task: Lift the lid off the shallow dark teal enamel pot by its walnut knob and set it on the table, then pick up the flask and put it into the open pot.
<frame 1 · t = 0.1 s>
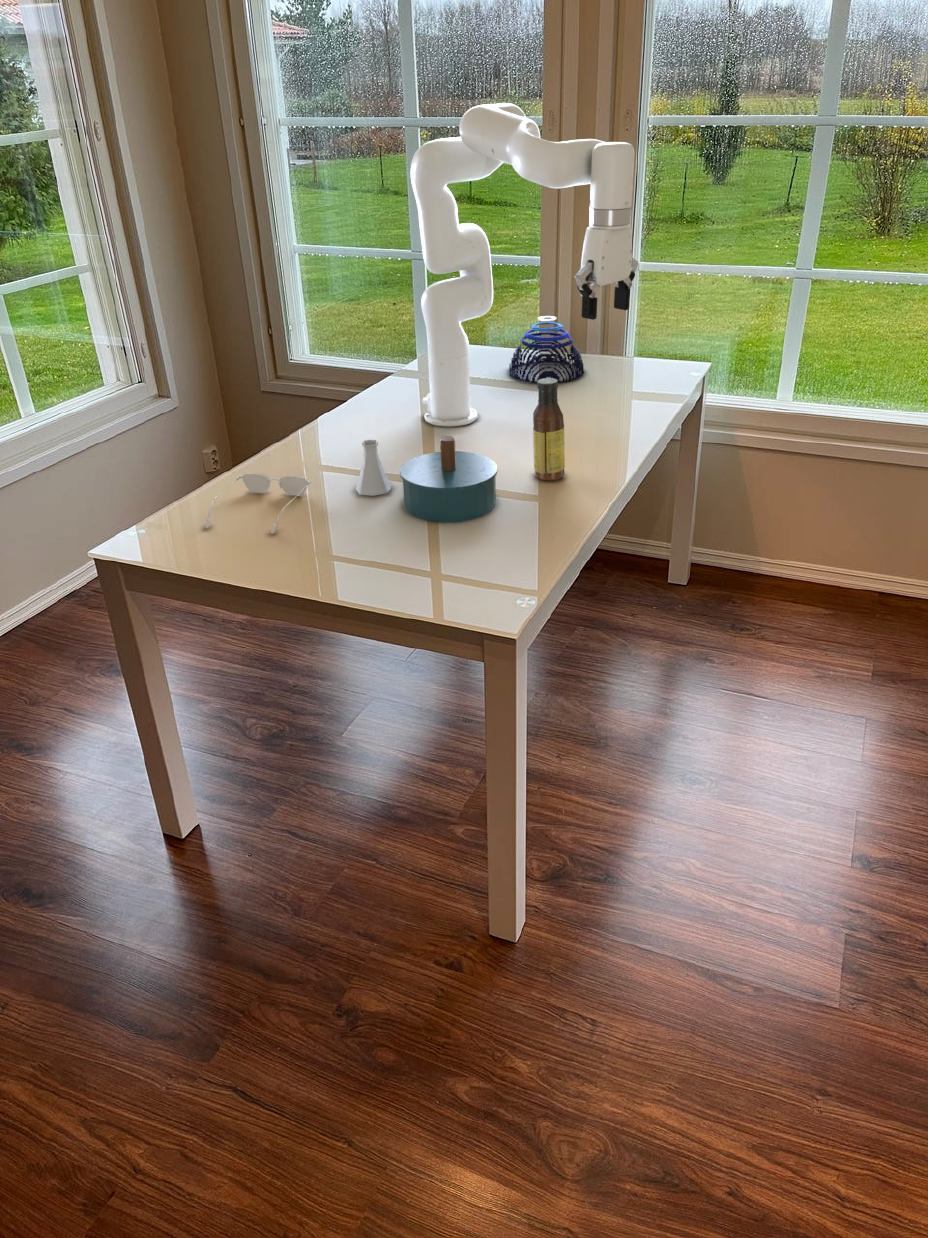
hand: (605, 313, 182), 31 cm above the table, tool pointing down, fingers open, 9 cm apart
sauce bottle: (548, 476, 194), on the table
decorative bowl: (546, 373, 257), on the table
lid: (448, 471, 181), point 6 cm above the table, touching pot
pot: (449, 502, 184), on the table
eyeglasses: (259, 512, 183), on the table
flask: (373, 490, 191), on the table
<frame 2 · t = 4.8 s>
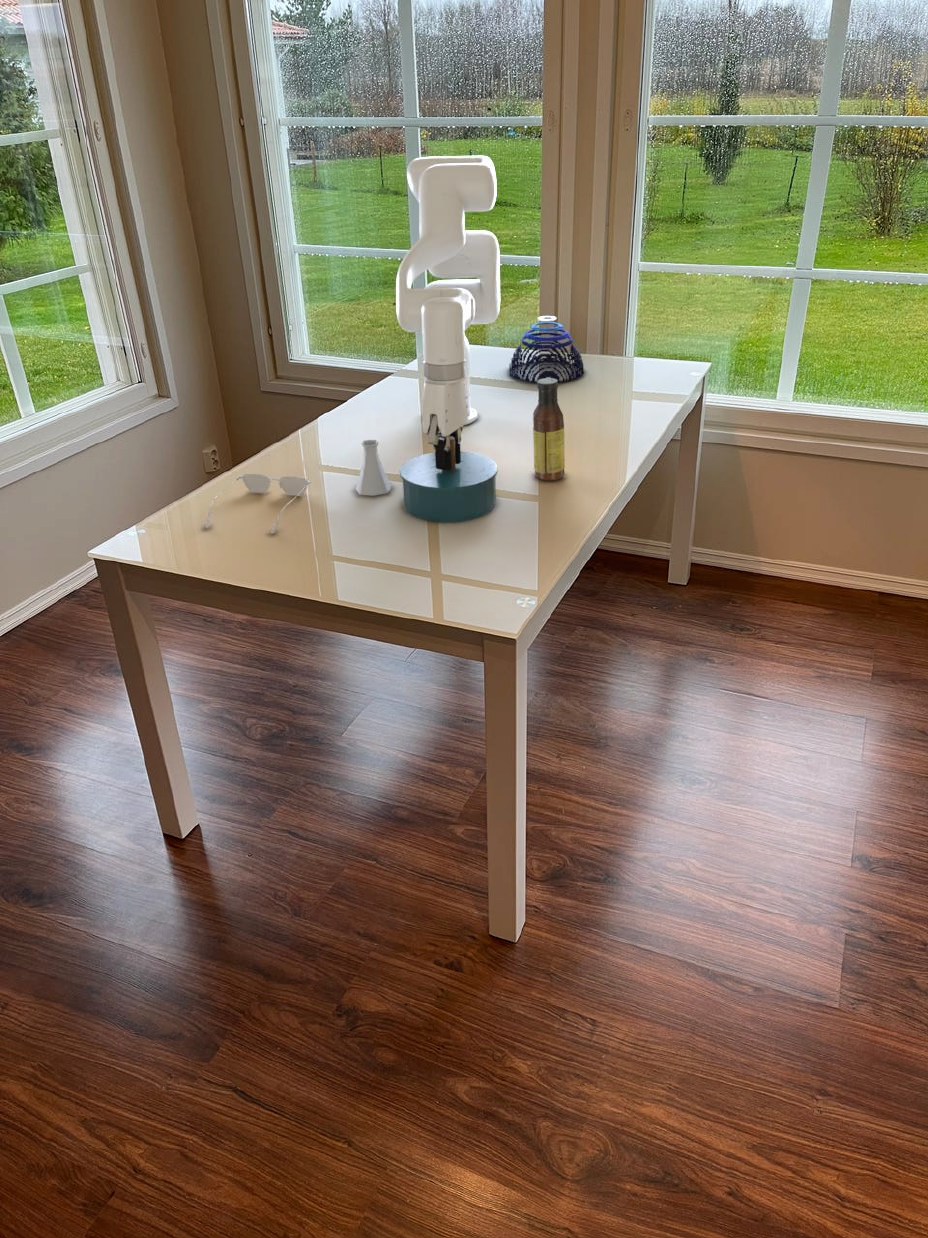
hand: (448, 465, 180), 8 cm above the table, tool pointing down, fingers closed on lid, 2 cm apart
lid: (448, 471, 181), point 6 cm above the table, touching gripper, pot
everything else where it was.
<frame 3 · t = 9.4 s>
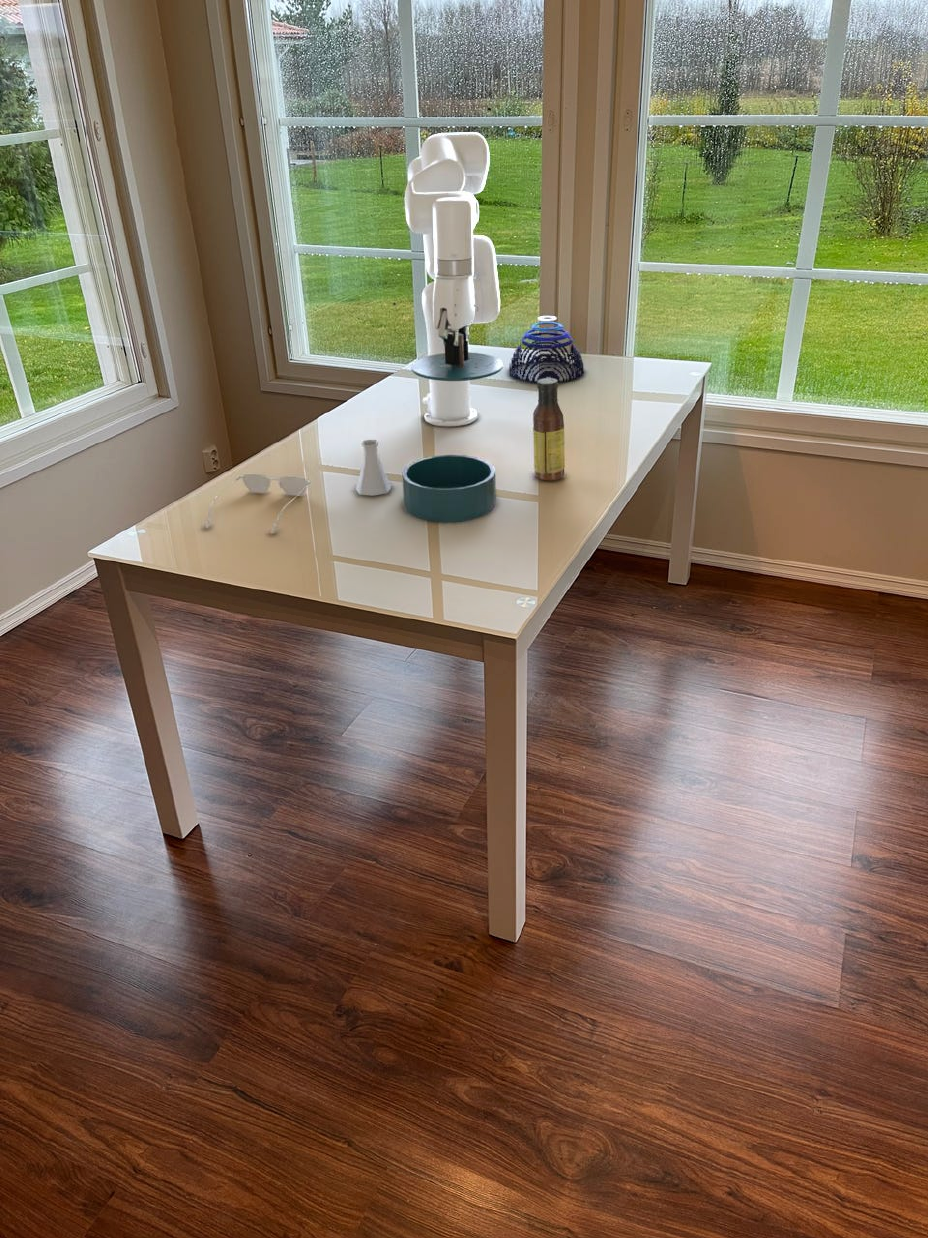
hand: (456, 361, 192), 21 cm above the table, tool pointing down, fingers closed on lid, 2 cm apart
lid: (457, 367, 193), point 20 cm above the table, touching gripper
everything else where it was.
when the fingers open (2 cm above the table, at t = 13.8 s): lid stays where it is, point 1 cm above the table.
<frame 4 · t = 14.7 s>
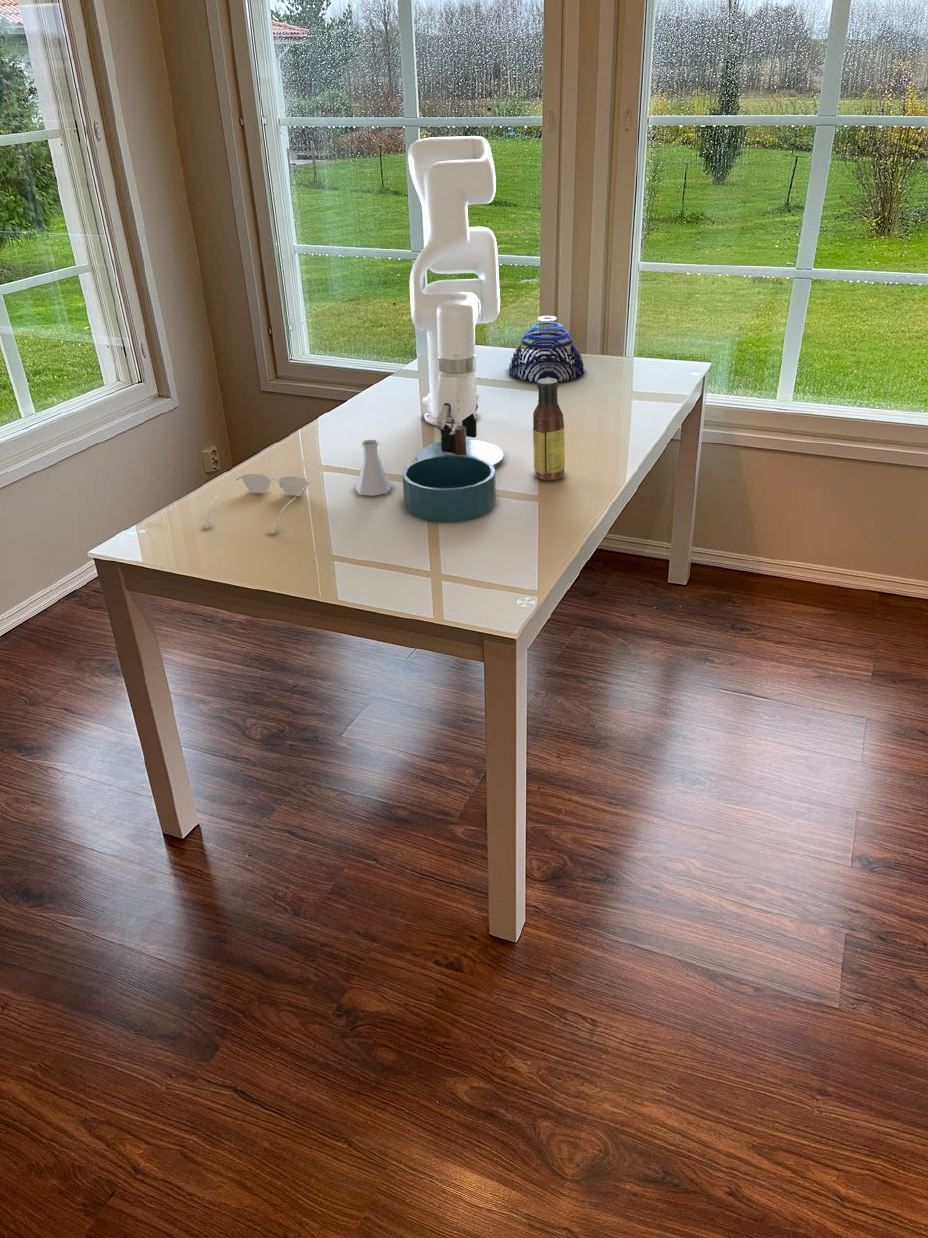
hand: (459, 444, 202), 3 cm above the table, tool pointing down, fingers open, 9 cm apart
lid: (460, 457, 203), point 1 cm above the table
everything else where it was.
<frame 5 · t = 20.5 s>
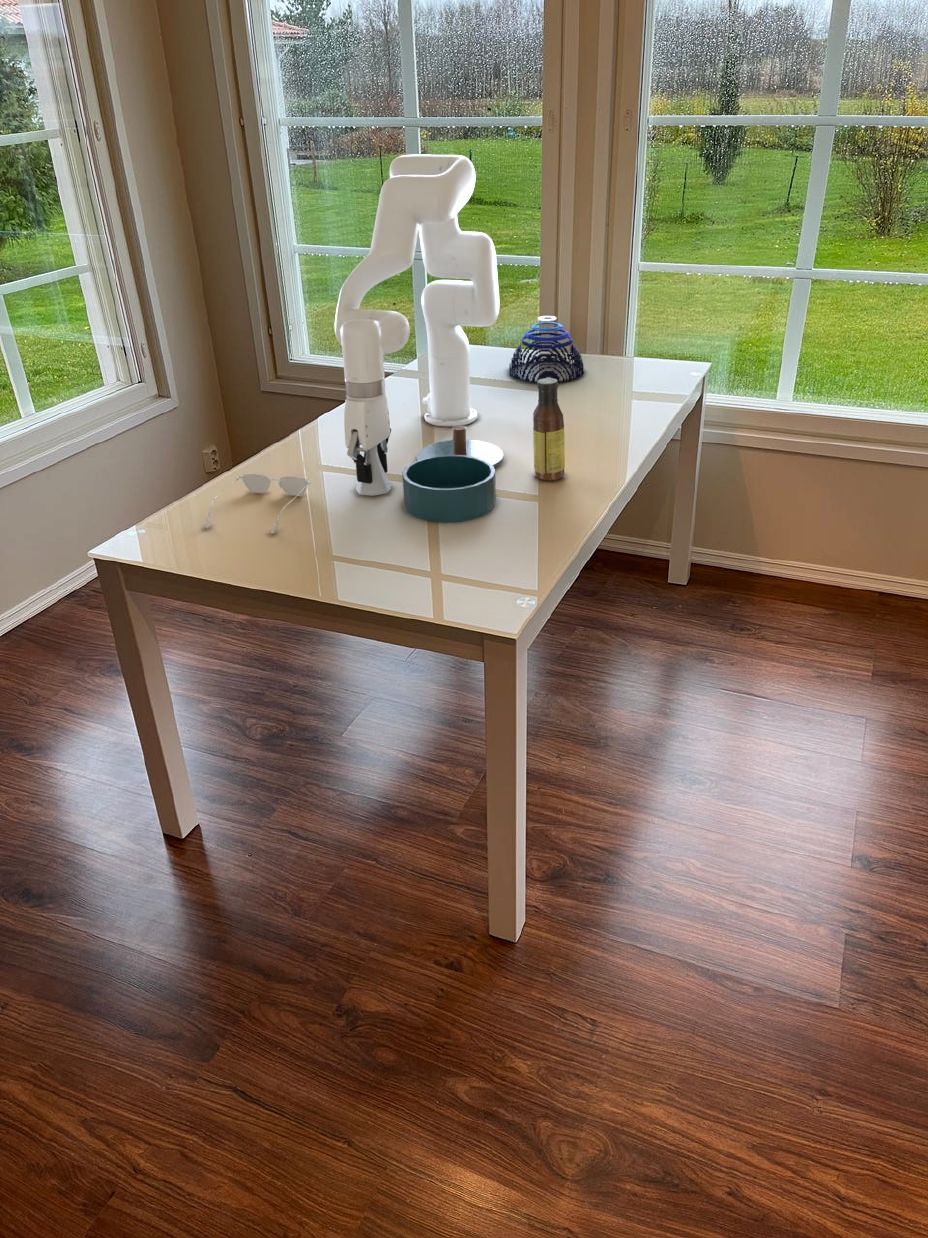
hand: (372, 476, 189), 3 cm above the table, tool pointing down, fingers closed on flask, 5 cm apart
flask: (373, 490, 190), on the table, touching gripper
everything else where it was.
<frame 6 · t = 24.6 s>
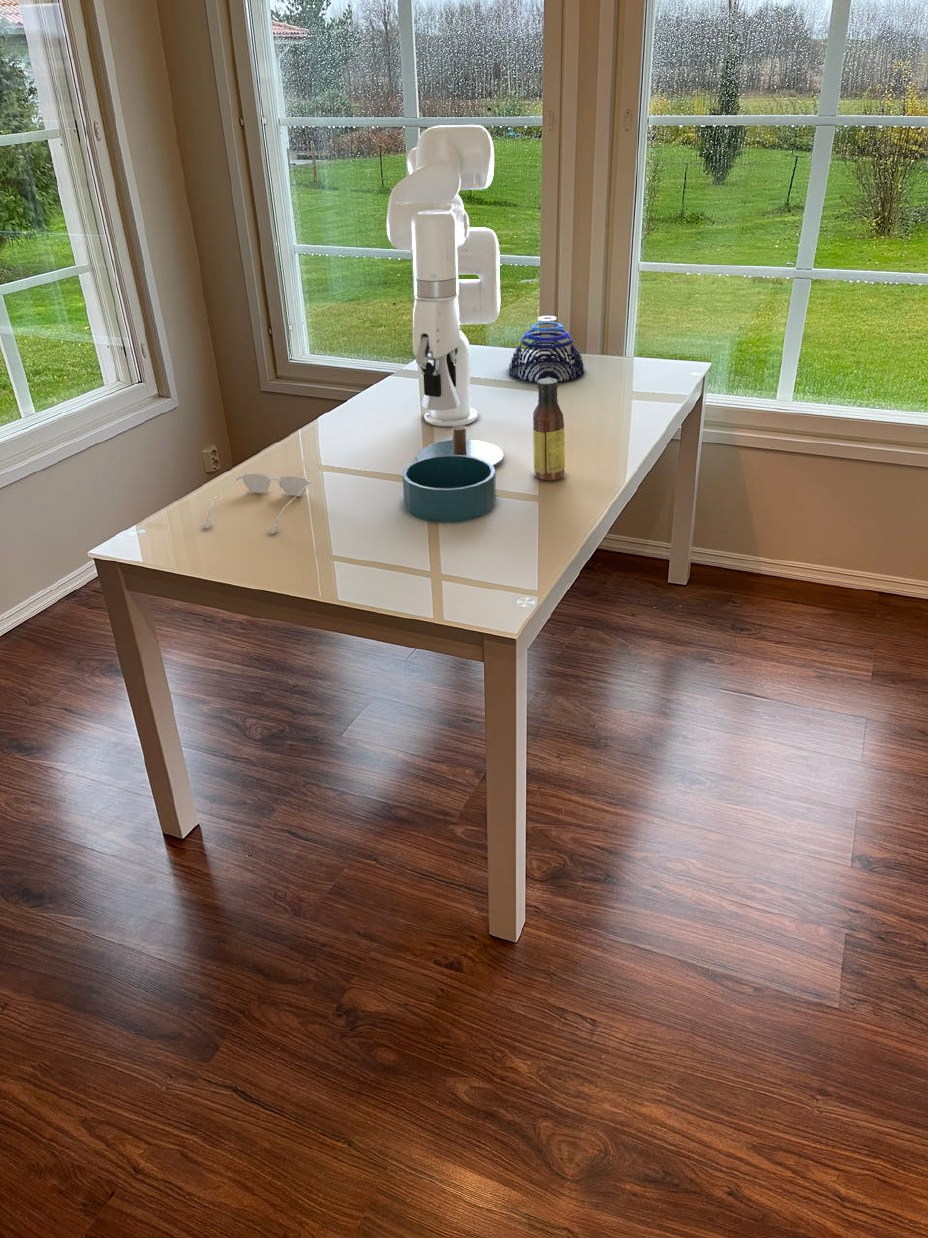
hand: (440, 390, 173), 22 cm above the table, tool pointing down, fingers closed on flask, 5 cm apart
flask: (441, 406, 174), point 19 cm above the table, touching gripper
everything else where it was.
when the fingers open (3 cm above the table, at t = 29.0 s): flask stays where it is, resting on pot.
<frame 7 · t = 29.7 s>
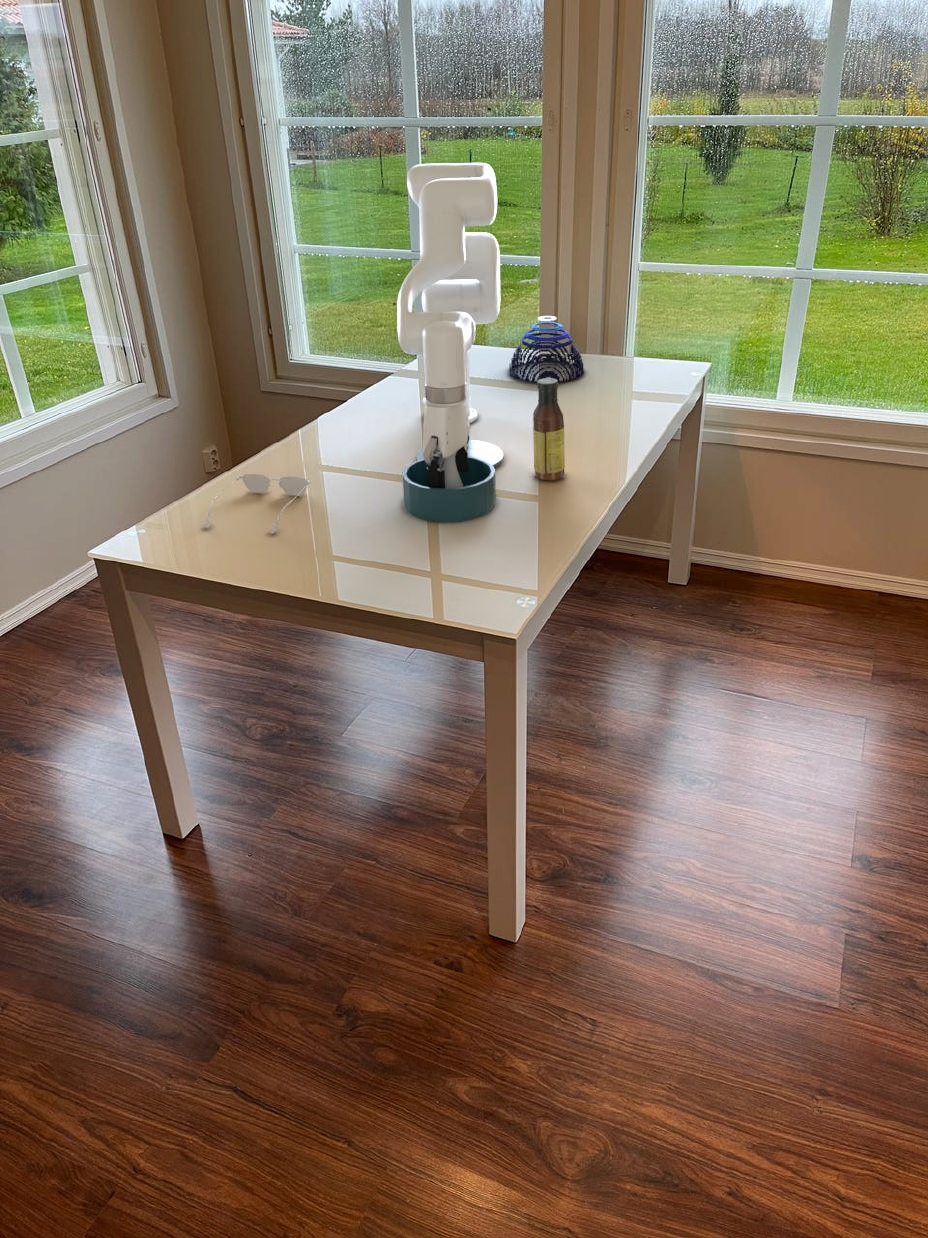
hand: (448, 479, 181), 5 cm above the table, tool pointing down, fingers open, 9 cm apart
flask: (449, 501, 184), resting on pot
everything else where it was.
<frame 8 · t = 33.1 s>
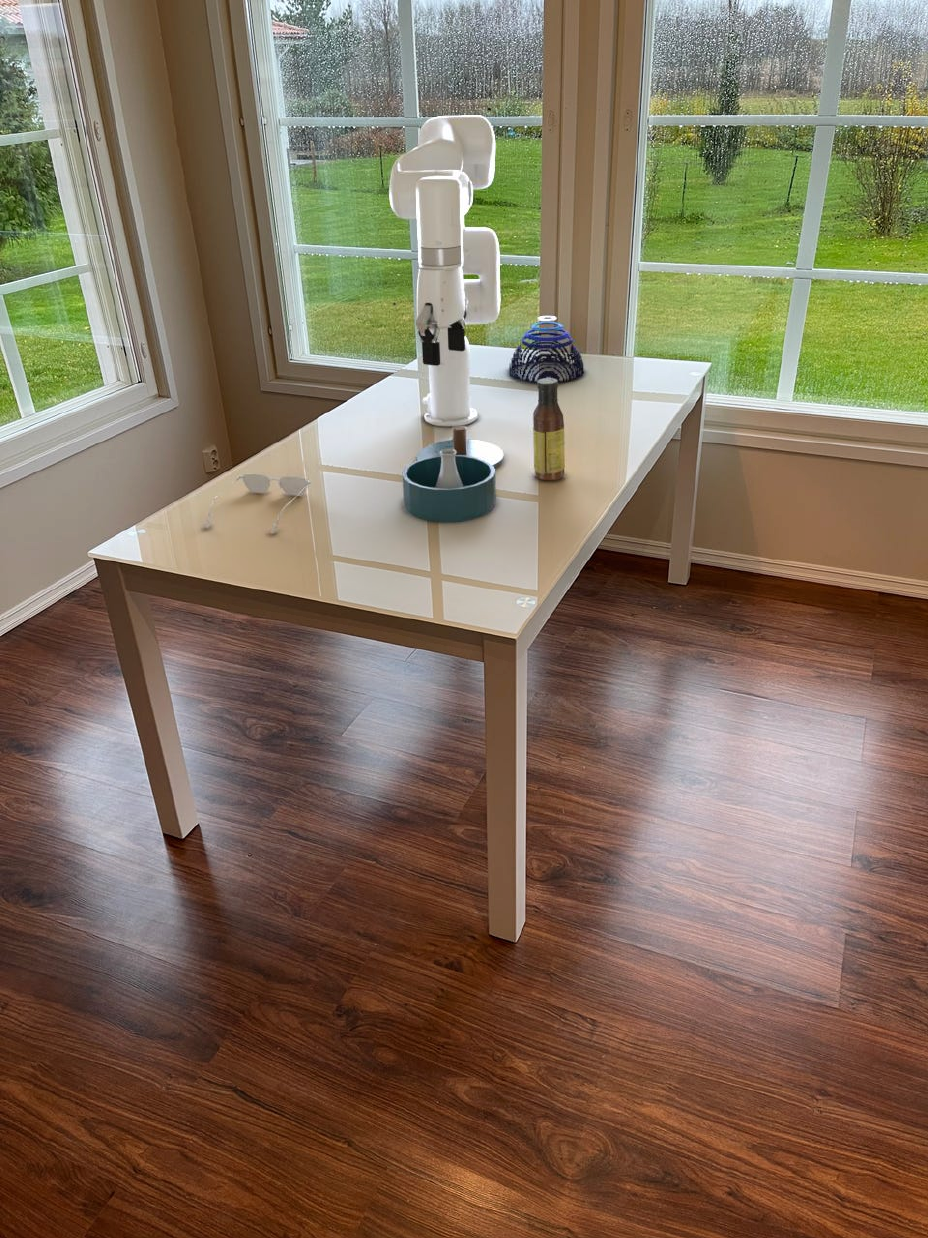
hand: (444, 357, 169), 28 cm above the table, tool pointing down, fingers open, 9 cm apart
nothing on the table moved.
at the end: lid inside the target area (0.2 cm from its centre), point 0.6 cm above the table; flask inside the target area in the pot (0.1 cm from its centre), point 0.3 cm above the pot's base; flask tilted 0° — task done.
